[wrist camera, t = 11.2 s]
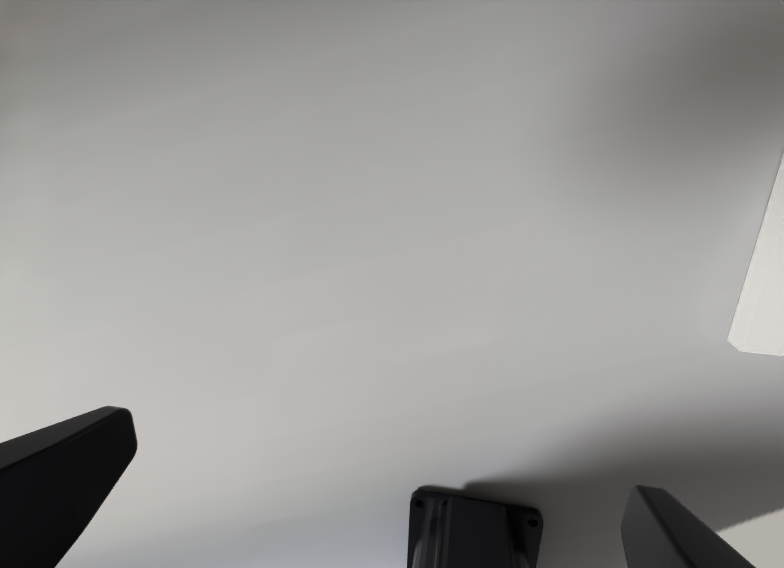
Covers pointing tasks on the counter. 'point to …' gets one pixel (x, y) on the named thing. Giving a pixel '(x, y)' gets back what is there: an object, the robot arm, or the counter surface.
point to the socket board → (764, 285)
